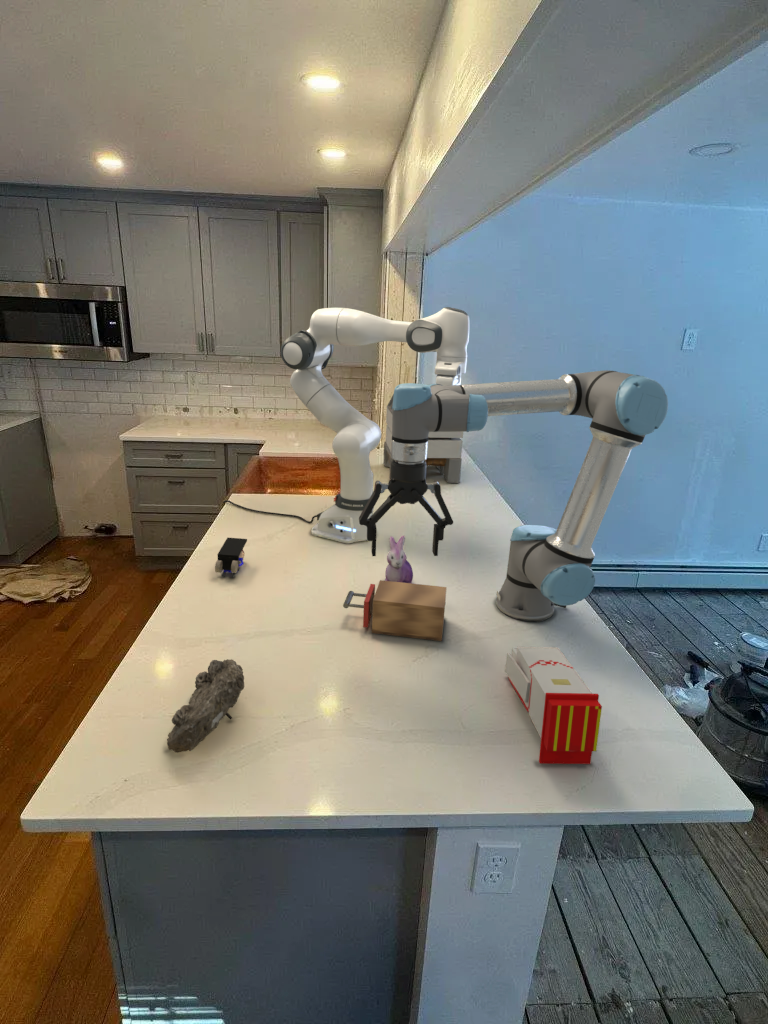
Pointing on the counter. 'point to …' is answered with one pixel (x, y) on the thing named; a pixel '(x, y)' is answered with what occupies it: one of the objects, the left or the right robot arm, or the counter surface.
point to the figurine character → (230, 556)
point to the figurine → (398, 563)
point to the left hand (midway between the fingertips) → (447, 413)
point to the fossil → (206, 705)
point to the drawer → (367, 603)
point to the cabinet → (409, 610)
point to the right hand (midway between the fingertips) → (404, 553)
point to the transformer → (433, 449)
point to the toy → (556, 704)
